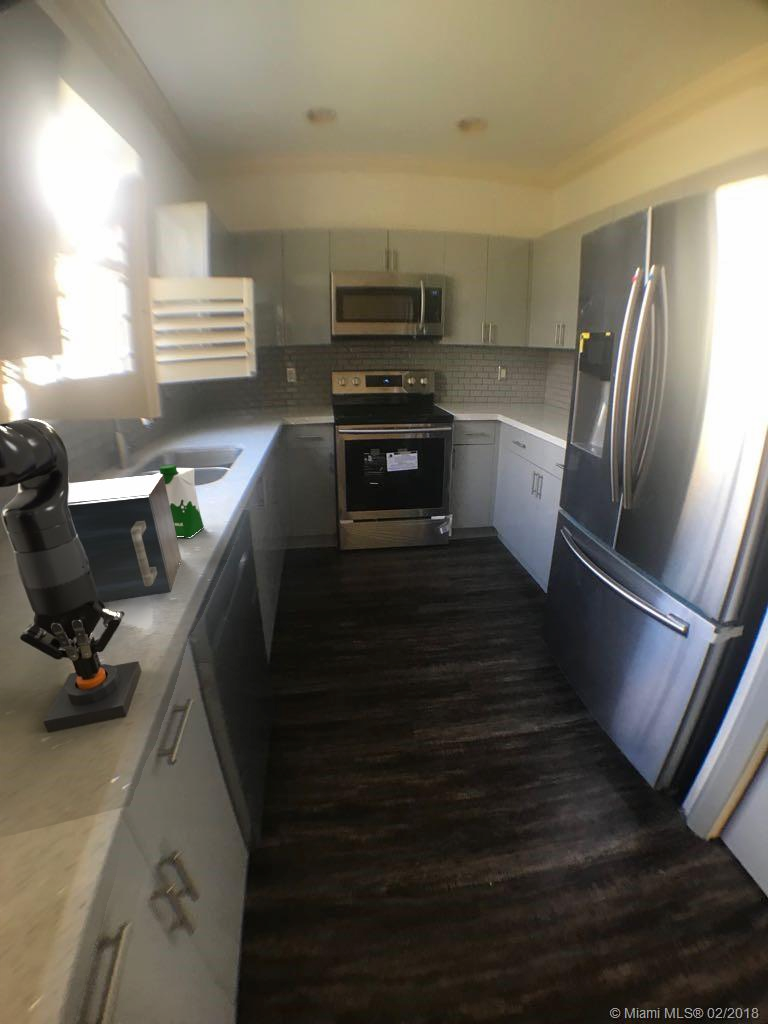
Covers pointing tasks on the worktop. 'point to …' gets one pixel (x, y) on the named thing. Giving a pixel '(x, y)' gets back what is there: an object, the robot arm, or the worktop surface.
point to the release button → (91, 680)
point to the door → (122, 547)
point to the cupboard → (136, 488)
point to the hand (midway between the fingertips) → (91, 675)
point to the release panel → (94, 699)
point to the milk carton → (182, 499)
